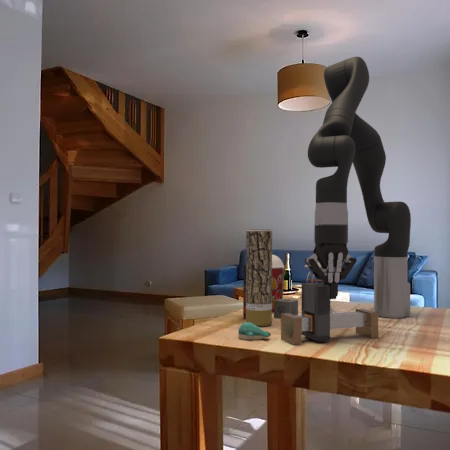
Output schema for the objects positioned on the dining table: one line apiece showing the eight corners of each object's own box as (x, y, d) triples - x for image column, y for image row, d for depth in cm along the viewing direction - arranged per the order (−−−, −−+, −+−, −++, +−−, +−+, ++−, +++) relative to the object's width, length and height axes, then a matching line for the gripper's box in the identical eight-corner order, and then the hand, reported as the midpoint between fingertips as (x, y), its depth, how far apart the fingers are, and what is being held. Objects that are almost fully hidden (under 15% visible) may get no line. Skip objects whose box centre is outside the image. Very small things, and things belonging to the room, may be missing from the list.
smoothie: (287, 309, 148) (287, 245, 148) (281, 314, 140) (281, 246, 140) (261, 308, 151) (261, 245, 151) (254, 312, 143) (254, 245, 143)
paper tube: (270, 327, 120) (270, 229, 121) (243, 326, 122) (244, 229, 122) (273, 322, 127) (273, 229, 127) (247, 321, 128) (248, 229, 129)
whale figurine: (243, 335, 112) (243, 319, 112) (273, 338, 110) (273, 321, 110) (234, 340, 107) (234, 323, 107) (265, 343, 104) (265, 326, 104)
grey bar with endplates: (362, 332, 115) (362, 308, 115) (378, 337, 110) (378, 312, 110) (280, 339, 108) (281, 313, 108) (293, 345, 102) (293, 318, 102)
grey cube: (289, 320, 131) (289, 302, 131) (273, 318, 134) (273, 300, 134) (298, 317, 135) (298, 300, 135) (282, 315, 138) (282, 298, 138)
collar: (312, 333, 111) (312, 282, 111) (329, 340, 104) (330, 286, 105) (301, 334, 110) (301, 282, 110) (318, 341, 103) (318, 286, 104)
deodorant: (241, 316, 135) (242, 264, 136) (262, 316, 136) (262, 264, 136) (244, 320, 129) (244, 265, 130) (266, 320, 130) (266, 265, 130)
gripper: (346, 223, 115) (345, 295, 114) (297, 223, 110) (297, 297, 110) (365, 223, 108) (365, 299, 107) (314, 222, 103) (314, 302, 103)
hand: (330, 298), depth 109 cm, fingers closed
